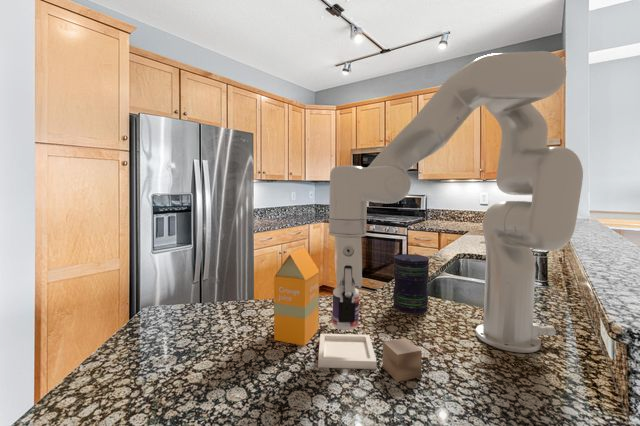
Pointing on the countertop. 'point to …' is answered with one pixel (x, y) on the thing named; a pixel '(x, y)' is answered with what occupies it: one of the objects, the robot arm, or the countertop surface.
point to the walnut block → (402, 359)
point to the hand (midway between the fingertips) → (345, 314)
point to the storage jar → (411, 283)
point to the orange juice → (296, 299)
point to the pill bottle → (336, 307)
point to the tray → (346, 351)
